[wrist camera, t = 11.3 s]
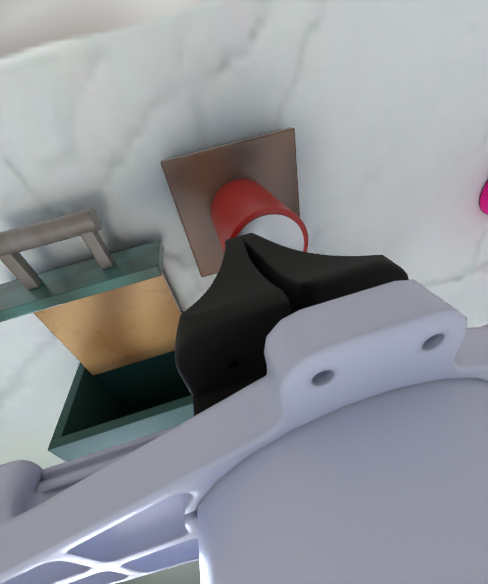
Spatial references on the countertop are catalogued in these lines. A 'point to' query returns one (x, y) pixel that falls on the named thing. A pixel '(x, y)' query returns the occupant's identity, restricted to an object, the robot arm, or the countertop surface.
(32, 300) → the handled drawer
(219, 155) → the brown square board
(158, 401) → the teal open box
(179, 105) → the countertop surface
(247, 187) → the can
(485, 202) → the pepper mill
